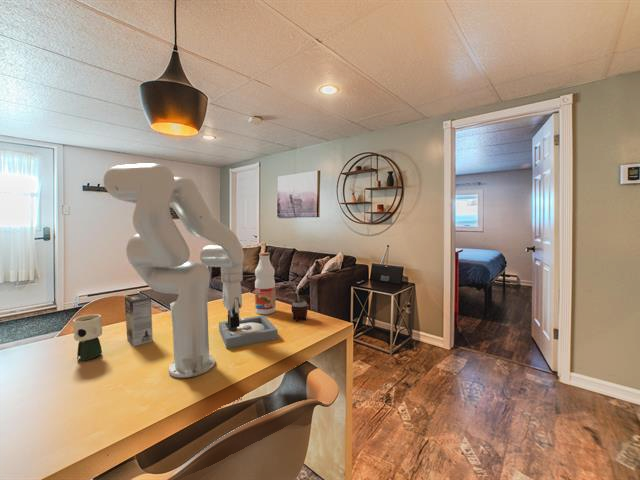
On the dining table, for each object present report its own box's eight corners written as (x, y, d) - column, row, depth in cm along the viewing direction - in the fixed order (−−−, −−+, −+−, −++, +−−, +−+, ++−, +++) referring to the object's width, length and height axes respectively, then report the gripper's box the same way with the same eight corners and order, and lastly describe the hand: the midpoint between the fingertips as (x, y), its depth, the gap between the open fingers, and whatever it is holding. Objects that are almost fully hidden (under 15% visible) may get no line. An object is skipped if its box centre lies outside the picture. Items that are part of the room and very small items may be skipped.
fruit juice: (279, 311, 139) (278, 252, 137) (264, 316, 132) (263, 254, 130) (266, 307, 145) (265, 251, 143) (251, 312, 138) (249, 253, 136)
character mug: (66, 359, 92) (63, 319, 91) (90, 350, 99) (88, 312, 98) (89, 365, 88) (86, 323, 88) (113, 355, 95) (110, 316, 94)
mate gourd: (304, 323, 123) (303, 287, 122) (287, 321, 126) (286, 286, 125) (310, 317, 130) (310, 284, 129) (294, 315, 133) (293, 283, 132)
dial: (260, 323, 119) (260, 301, 118) (267, 334, 108) (266, 310, 107) (228, 328, 114) (227, 305, 114) (231, 340, 103) (231, 314, 102)
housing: (277, 338, 107) (277, 329, 107) (226, 349, 99) (226, 338, 99) (264, 323, 123) (263, 314, 123) (219, 331, 115) (218, 321, 115)
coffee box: (126, 339, 107) (123, 296, 106) (145, 334, 112) (143, 293, 111) (133, 347, 101) (131, 301, 100) (154, 341, 106) (151, 297, 105)
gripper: (216, 274, 112) (218, 320, 114) (226, 282, 98) (229, 335, 100) (236, 272, 116) (237, 317, 118) (248, 279, 102) (250, 330, 104)
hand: (233, 325), depth 109 cm, fingers closed on dial, 2 cm apart
